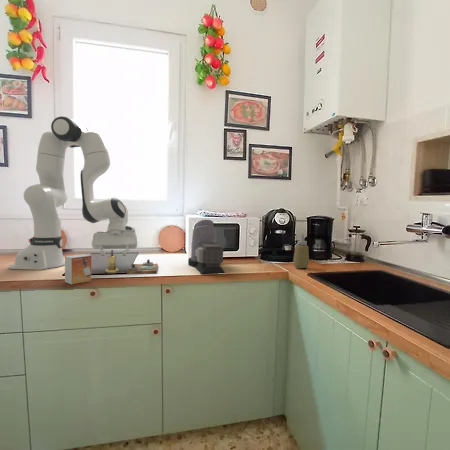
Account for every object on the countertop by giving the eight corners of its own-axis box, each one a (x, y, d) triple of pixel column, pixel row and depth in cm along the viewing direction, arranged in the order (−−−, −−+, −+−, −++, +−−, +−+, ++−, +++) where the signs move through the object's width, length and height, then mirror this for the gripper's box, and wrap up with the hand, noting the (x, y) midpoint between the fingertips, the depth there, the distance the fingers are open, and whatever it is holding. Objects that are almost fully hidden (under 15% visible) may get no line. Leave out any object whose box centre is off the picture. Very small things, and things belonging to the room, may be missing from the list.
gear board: (126, 274, 126) (126, 265, 126) (131, 266, 141) (131, 258, 141) (156, 273, 129) (156, 265, 129) (157, 266, 144) (157, 258, 143)
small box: (71, 285, 108) (70, 258, 107) (64, 282, 111) (64, 256, 110) (91, 281, 114) (91, 255, 113) (85, 278, 118) (84, 253, 117)
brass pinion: (104, 273, 126) (104, 251, 125) (106, 270, 131) (106, 249, 131) (117, 273, 127) (117, 251, 126) (119, 270, 133) (119, 249, 132)
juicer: (185, 261, 157) (186, 217, 155) (213, 260, 162) (214, 218, 160) (196, 275, 129) (198, 221, 127) (230, 273, 134) (231, 222, 132)
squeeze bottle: (311, 268, 149) (313, 234, 148) (304, 270, 144) (306, 235, 142) (297, 265, 155) (299, 233, 154) (290, 267, 149) (291, 234, 148)
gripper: (92, 227, 134) (87, 251, 125) (137, 227, 138) (135, 250, 130) (95, 235, 139) (90, 259, 130) (138, 235, 143) (136, 258, 134)
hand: (113, 255), depth 130 cm, fingers open, 8 cm apart
